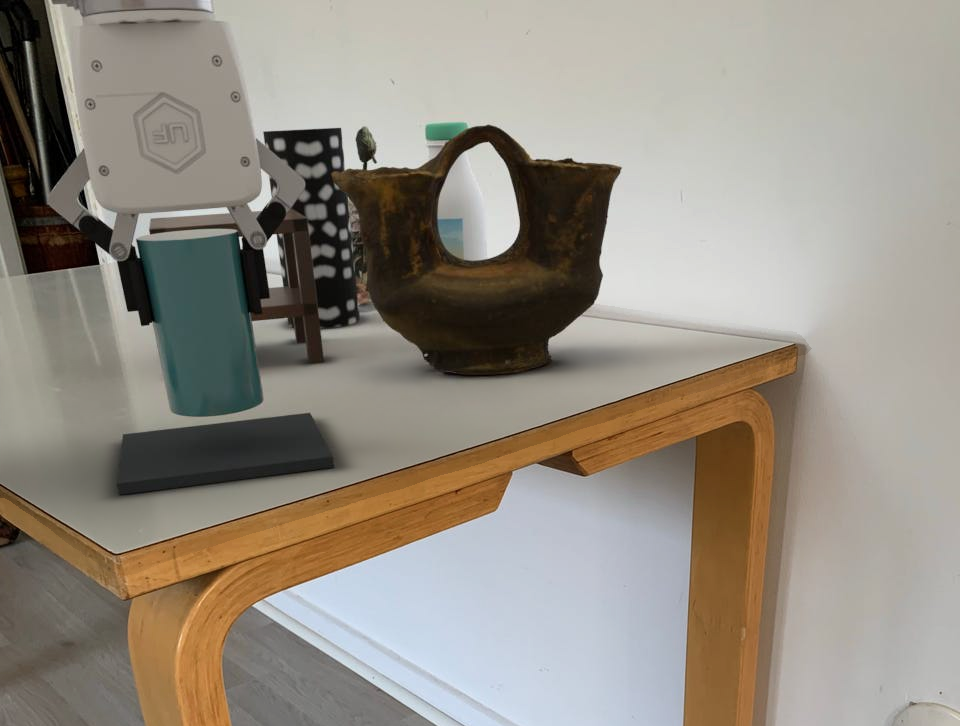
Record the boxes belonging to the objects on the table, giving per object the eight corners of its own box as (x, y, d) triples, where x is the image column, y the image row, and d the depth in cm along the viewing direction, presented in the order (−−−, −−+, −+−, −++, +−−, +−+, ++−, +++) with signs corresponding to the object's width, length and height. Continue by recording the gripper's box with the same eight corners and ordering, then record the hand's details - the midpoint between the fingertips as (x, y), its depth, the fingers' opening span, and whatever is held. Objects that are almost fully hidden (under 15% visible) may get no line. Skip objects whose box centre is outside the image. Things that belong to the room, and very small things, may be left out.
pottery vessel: (357, 390, 85) (331, 132, 76) (347, 363, 95) (323, 132, 86) (633, 365, 89) (640, 117, 80) (597, 342, 99) (600, 118, 89)
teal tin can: (170, 421, 65) (134, 243, 60) (169, 392, 72) (137, 231, 67) (267, 409, 67) (241, 234, 61) (257, 382, 74) (232, 223, 69)
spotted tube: (331, 330, 110) (309, 129, 101) (273, 326, 114) (246, 132, 105) (373, 317, 117) (356, 126, 107) (317, 314, 120) (296, 129, 111)
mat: (118, 495, 64) (116, 483, 63) (125, 444, 74) (122, 434, 74) (334, 467, 67) (333, 456, 66) (311, 422, 77) (310, 412, 77)
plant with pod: (381, 295, 131) (367, 125, 122) (401, 308, 121) (387, 125, 112) (321, 301, 129) (301, 129, 120) (336, 314, 119) (316, 128, 110)
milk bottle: (464, 307, 120) (455, 121, 111) (503, 314, 114) (496, 120, 105) (411, 316, 116) (396, 125, 107) (448, 324, 110) (436, 123, 101)
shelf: (176, 377, 93) (148, 229, 87) (175, 352, 103) (150, 218, 97) (324, 361, 96) (307, 217, 90) (308, 339, 106) (292, 208, 100)
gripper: (-25, -5, 52) (60, 340, 61) (302, -14, 56) (339, 313, 65) (-4, 9, 59) (70, 320, 67) (288, 1, 63) (323, 296, 71)
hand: (201, 314), depth 66 cm, fingers closed on teal tin can, 6 cm apart
